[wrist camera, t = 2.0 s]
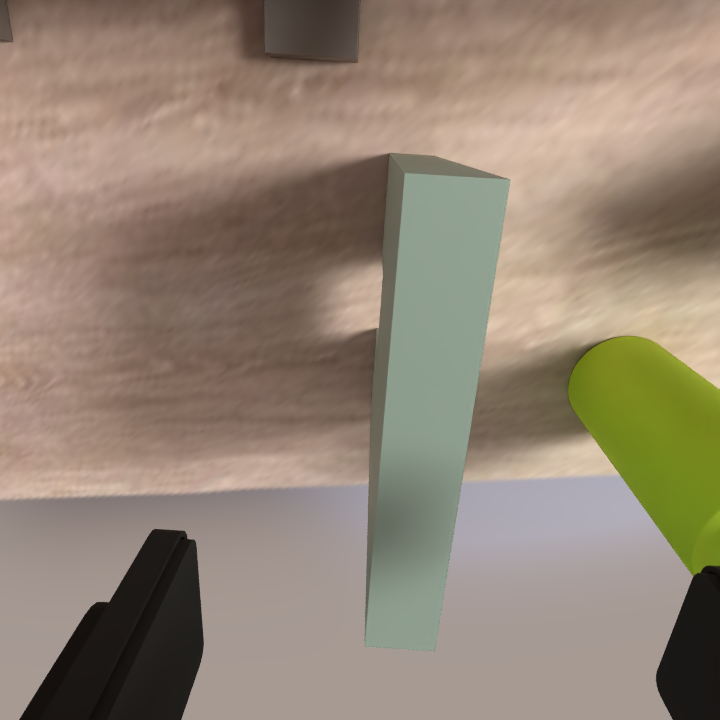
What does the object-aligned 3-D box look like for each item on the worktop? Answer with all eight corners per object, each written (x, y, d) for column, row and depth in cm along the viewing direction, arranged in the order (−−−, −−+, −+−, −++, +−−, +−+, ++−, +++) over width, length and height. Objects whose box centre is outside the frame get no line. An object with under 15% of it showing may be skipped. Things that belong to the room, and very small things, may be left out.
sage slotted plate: (370, 405, 31) (364, 646, 16) (389, 153, 26) (405, 172, 11) (407, 408, 31) (434, 651, 16) (434, 155, 26) (510, 179, 11)
